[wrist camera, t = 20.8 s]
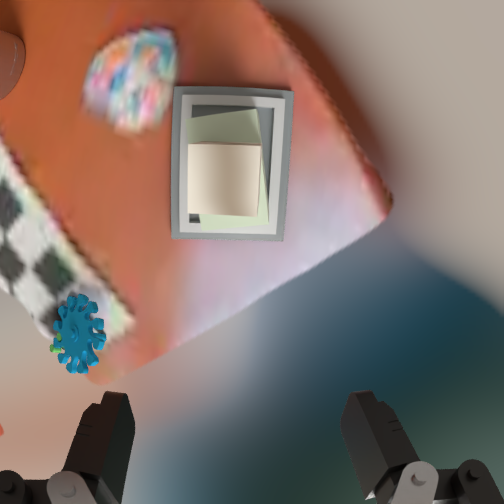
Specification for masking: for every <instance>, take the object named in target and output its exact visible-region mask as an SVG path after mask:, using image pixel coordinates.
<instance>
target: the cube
mask: <svg viewBox="0 0 504 504" xmlns="http://www.w3.org/2000/svg"><path fill="white" fill-rule="evenodd" d="M261 159H262V143H249V142H219V141H201V142H196V143H191V144H188V213H192V214H213V215H232V216H250V217H257V213H258V206H259V197H260V178H261Z"/></svg>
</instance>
